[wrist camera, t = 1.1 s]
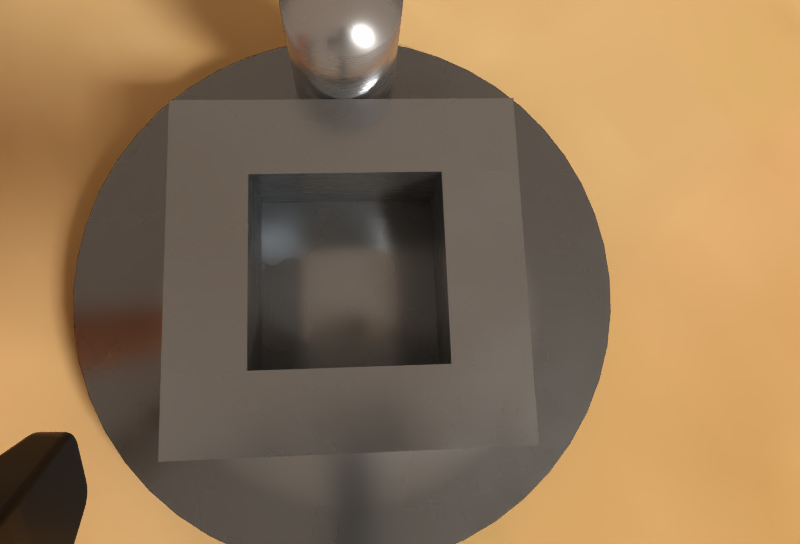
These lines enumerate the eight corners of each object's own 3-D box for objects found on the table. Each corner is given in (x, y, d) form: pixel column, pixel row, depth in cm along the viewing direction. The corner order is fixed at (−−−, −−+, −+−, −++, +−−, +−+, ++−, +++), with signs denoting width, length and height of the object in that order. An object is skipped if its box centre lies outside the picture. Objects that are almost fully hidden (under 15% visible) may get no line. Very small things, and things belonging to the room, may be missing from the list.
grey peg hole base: (620, 545, 22) (732, 605, 15) (74, 575, 20) (-55, 654, 14) (575, 57, 25) (651, -63, 18) (100, 58, 24) (6, -71, 17)
